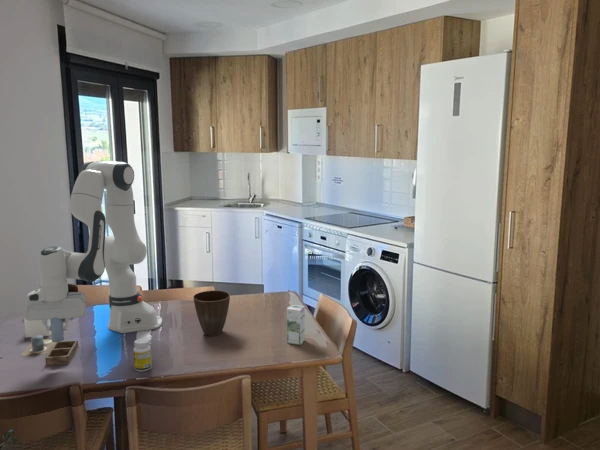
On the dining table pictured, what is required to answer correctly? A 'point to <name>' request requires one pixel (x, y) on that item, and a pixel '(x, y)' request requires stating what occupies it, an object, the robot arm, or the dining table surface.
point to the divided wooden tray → (62, 352)
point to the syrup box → (295, 324)
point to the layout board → (39, 346)
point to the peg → (57, 329)
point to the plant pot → (212, 310)
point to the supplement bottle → (142, 355)
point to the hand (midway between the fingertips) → (57, 330)
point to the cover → (36, 328)
